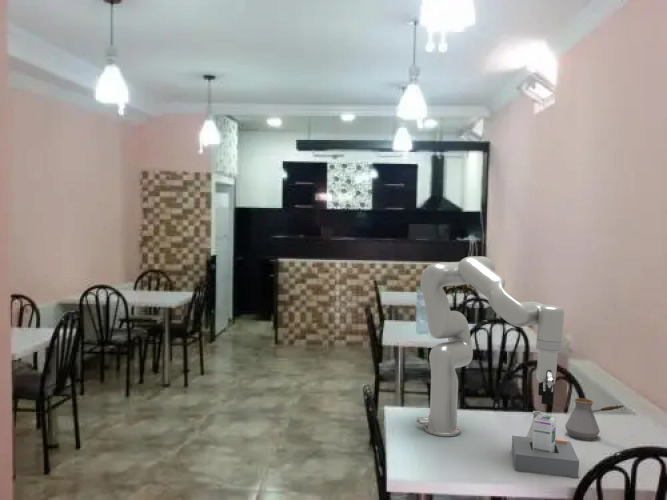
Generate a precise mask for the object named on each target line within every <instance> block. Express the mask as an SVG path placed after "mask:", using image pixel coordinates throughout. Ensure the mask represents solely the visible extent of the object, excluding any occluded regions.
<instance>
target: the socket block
mask: <svg viewBox="0 0 667 500" xmlns="http://www.w3.org/2000/svg"><path fill="white" fill-rule="evenodd" d="M532 446H533V438H531V437H526V436H519V435H512V439H511V455H512V459H513V460H512V461H513V466H514V471H515V472H522V471H523V473H532V474H540V475H549V476H559V477H567V478H568V477H569V478H577V479H578V478H579V475H580V474H579V473H580V470H579V469H580V460H579V458H578V455H577V454H576V451H575V449H574V447H573V445H572V442H571V441H569V440H567V439H565V438H556V437H555V453H550V452H541V451H532Z"/></svg>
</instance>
